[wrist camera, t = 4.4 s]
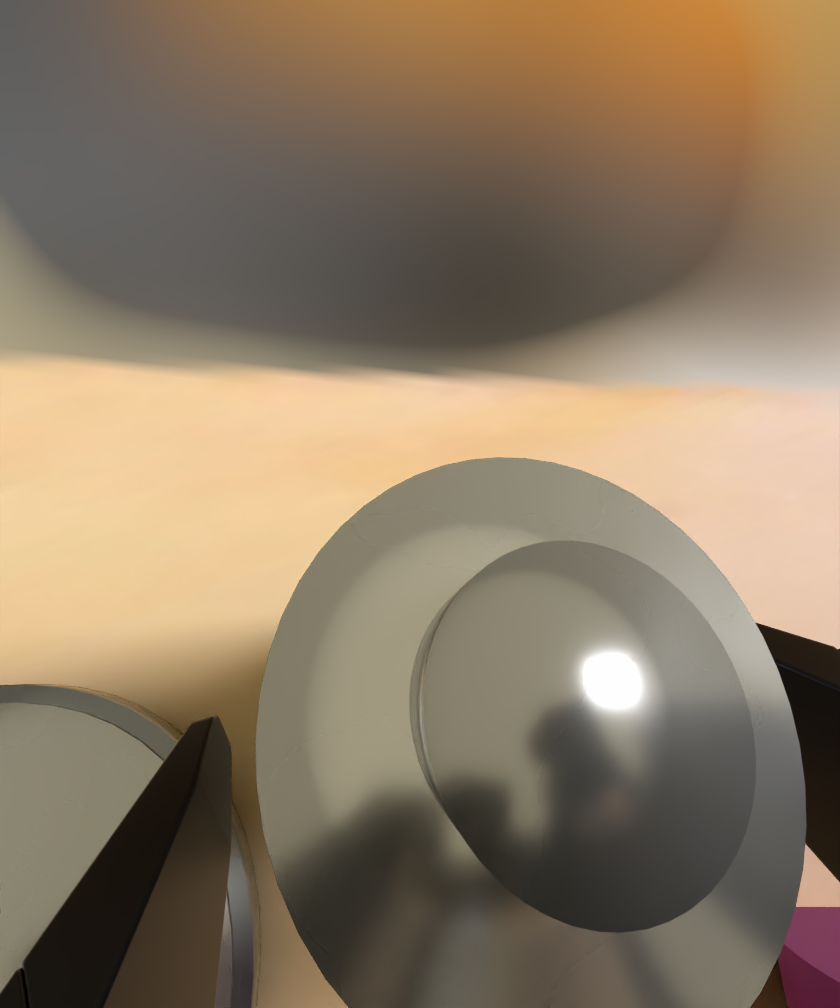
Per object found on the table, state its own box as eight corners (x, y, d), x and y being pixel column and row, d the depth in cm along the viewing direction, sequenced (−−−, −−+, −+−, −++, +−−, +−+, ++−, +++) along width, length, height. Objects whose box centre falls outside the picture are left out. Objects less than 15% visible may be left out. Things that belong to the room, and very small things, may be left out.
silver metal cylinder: (309, 824, 14) (9, 1803, 2) (308, 598, 16) (189, 367, 4) (521, 788, 15) (1200, 1209, 3) (487, 584, 17) (771, 374, 6)
